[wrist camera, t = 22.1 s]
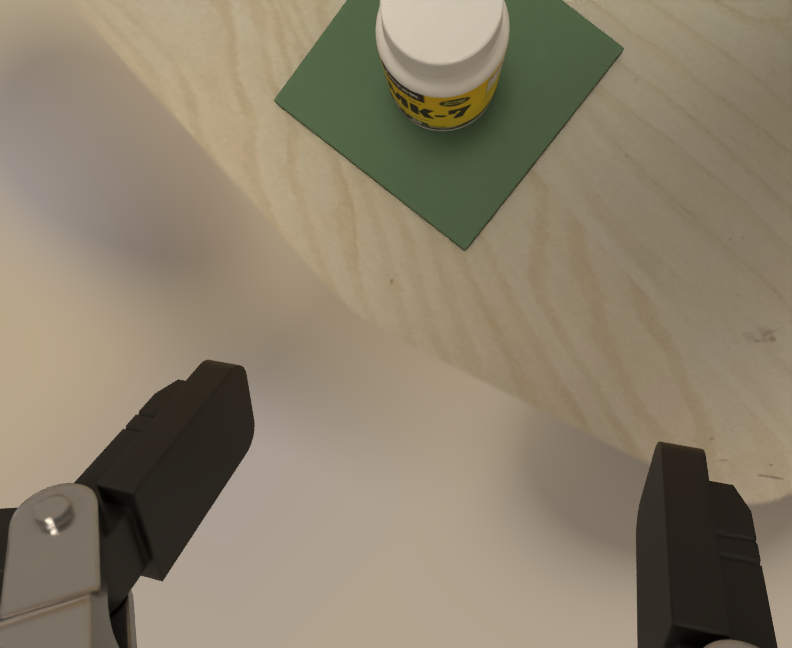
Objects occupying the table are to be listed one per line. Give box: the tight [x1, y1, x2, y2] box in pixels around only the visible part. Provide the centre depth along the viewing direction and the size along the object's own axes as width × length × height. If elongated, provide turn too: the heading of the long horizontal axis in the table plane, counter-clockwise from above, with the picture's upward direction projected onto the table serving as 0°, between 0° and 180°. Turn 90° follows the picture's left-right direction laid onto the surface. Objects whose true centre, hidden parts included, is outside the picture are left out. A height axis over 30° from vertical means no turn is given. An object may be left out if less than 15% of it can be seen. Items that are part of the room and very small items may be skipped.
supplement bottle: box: [376, 0, 510, 131], centre depth 25 cm, size 5×5×8 cm
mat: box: [274, 0, 624, 250], centre depth 30 cm, size 11×11×1 cm
